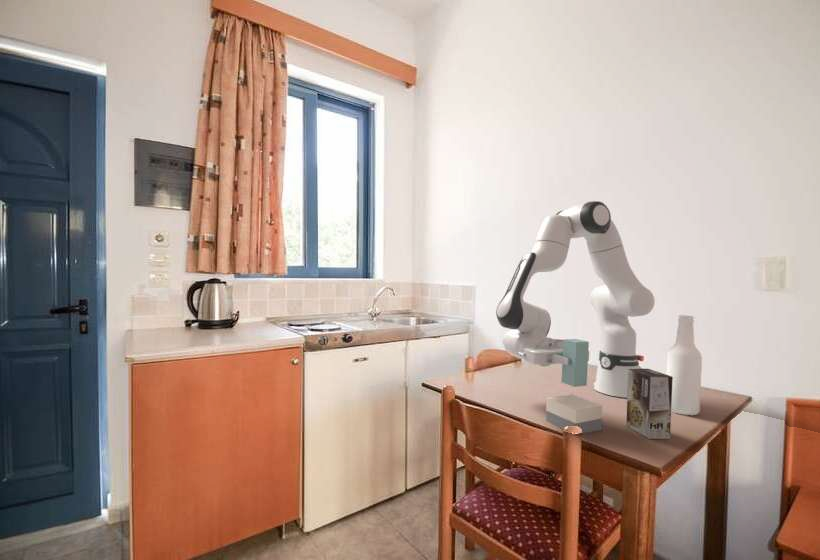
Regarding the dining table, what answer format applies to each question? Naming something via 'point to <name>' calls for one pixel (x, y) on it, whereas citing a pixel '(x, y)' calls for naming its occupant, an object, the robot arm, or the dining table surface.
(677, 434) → the dining table surface
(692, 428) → the dining table surface
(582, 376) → the teal post
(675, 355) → the alcohol
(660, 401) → the coffee box
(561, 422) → the slab bottom
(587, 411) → the slab top
